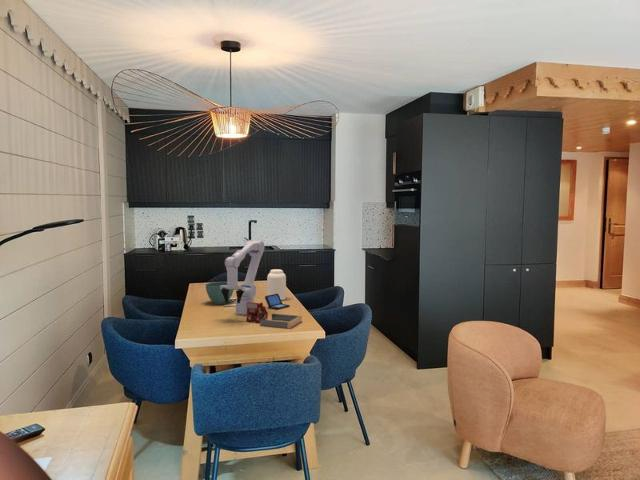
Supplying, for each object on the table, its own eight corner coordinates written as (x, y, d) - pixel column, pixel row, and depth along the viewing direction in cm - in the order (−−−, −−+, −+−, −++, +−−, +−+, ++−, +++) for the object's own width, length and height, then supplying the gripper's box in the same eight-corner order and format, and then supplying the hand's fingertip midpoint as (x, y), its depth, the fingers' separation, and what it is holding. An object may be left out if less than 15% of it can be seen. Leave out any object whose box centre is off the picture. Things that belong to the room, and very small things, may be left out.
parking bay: (259, 325, 254) (259, 319, 254) (272, 318, 269) (272, 313, 269) (290, 328, 249) (290, 322, 248) (301, 321, 264) (301, 316, 263)
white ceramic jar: (265, 300, 318) (265, 270, 317) (269, 297, 330) (269, 268, 329) (283, 301, 316) (283, 271, 315) (287, 297, 329) (287, 268, 327)
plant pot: (237, 304, 306) (237, 285, 305) (208, 306, 299) (208, 287, 298) (231, 299, 323) (231, 281, 322) (203, 301, 316) (203, 282, 315)
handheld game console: (277, 310, 291) (277, 298, 290) (264, 308, 298) (264, 296, 297) (290, 307, 301) (290, 295, 300) (277, 304, 307) (277, 293, 307)
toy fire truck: (264, 323, 259) (264, 304, 258) (243, 321, 263) (243, 303, 262) (269, 320, 265) (269, 302, 264) (249, 318, 269) (249, 300, 268)
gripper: (217, 278, 266) (217, 302, 267) (240, 280, 261) (240, 304, 262) (224, 276, 273) (224, 300, 274) (246, 278, 268) (246, 302, 269)
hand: (232, 302), depth 268 cm, fingers open, 7 cm apart
